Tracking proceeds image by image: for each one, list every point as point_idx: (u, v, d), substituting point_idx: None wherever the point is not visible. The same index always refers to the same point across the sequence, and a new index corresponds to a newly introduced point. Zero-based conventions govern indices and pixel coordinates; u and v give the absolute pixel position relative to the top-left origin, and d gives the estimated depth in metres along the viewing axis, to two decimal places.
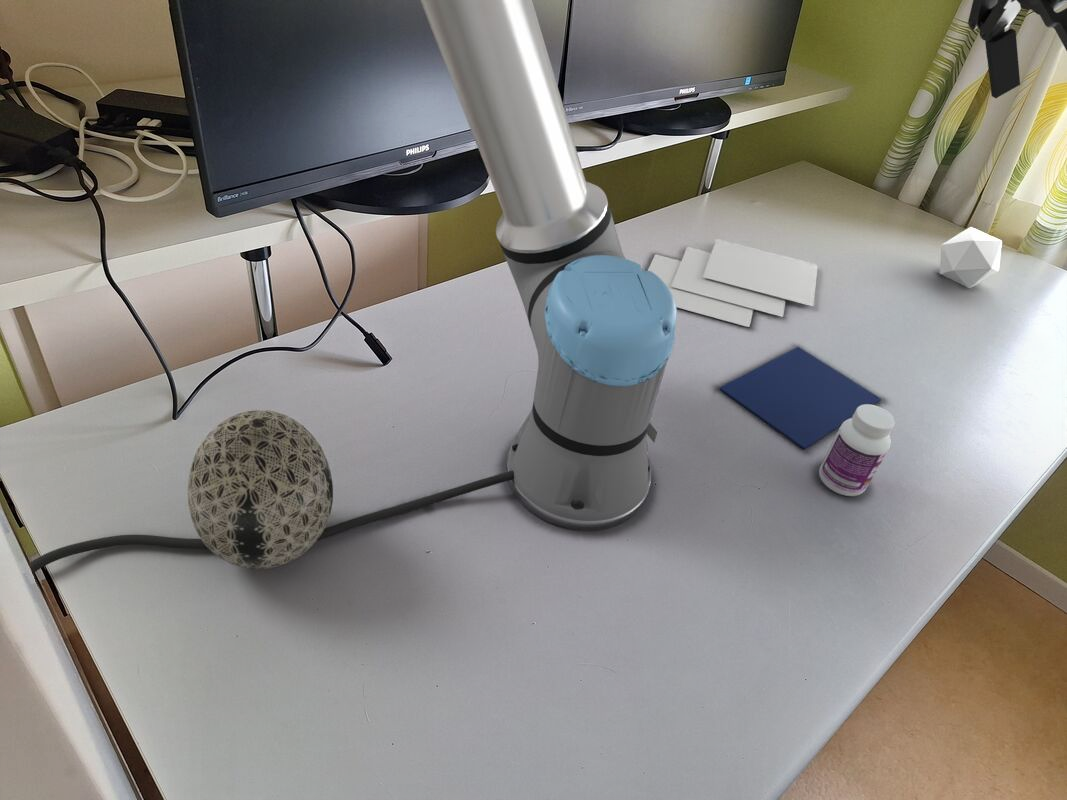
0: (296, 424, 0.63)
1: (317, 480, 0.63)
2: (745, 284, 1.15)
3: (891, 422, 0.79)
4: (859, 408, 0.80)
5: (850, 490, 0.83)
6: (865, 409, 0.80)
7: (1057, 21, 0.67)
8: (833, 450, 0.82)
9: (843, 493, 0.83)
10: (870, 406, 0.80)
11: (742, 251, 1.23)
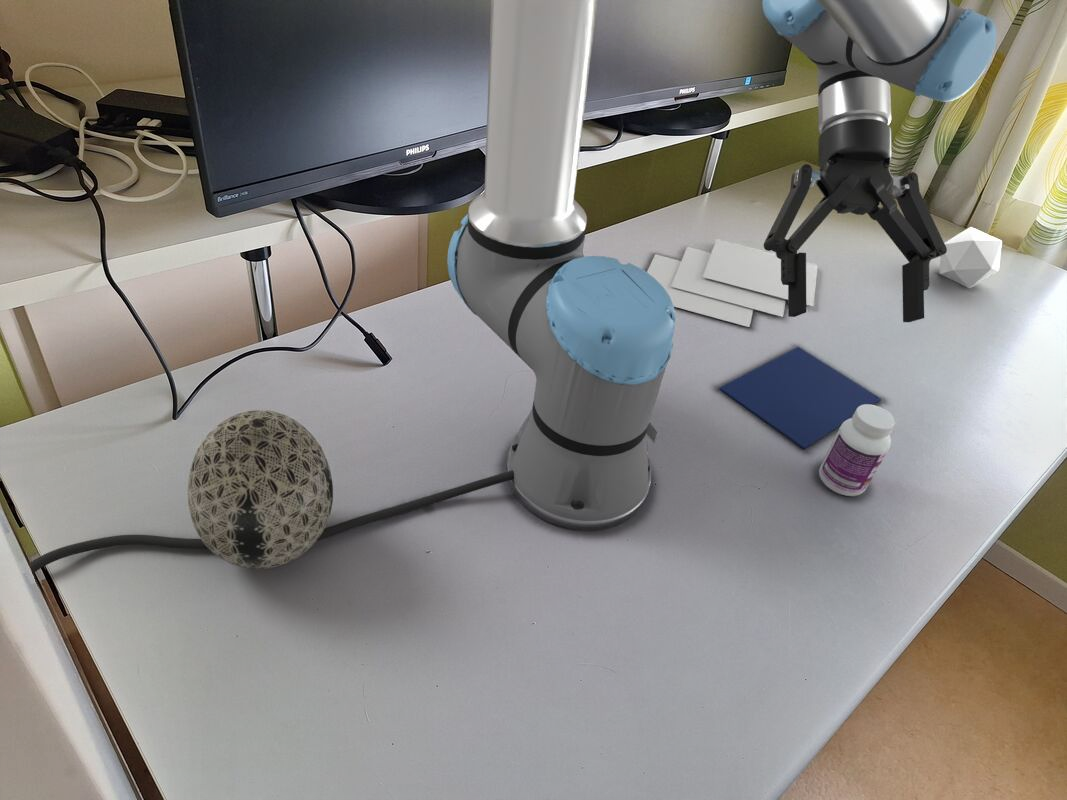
0: (296, 424, 0.63)
1: (317, 480, 0.63)
2: (745, 284, 1.15)
3: (891, 422, 0.79)
4: (859, 408, 0.80)
5: (850, 490, 0.83)
6: (865, 409, 0.80)
7: (895, 205, 0.84)
8: (833, 450, 0.82)
9: (843, 493, 0.83)
10: (870, 406, 0.80)
11: (742, 251, 1.23)
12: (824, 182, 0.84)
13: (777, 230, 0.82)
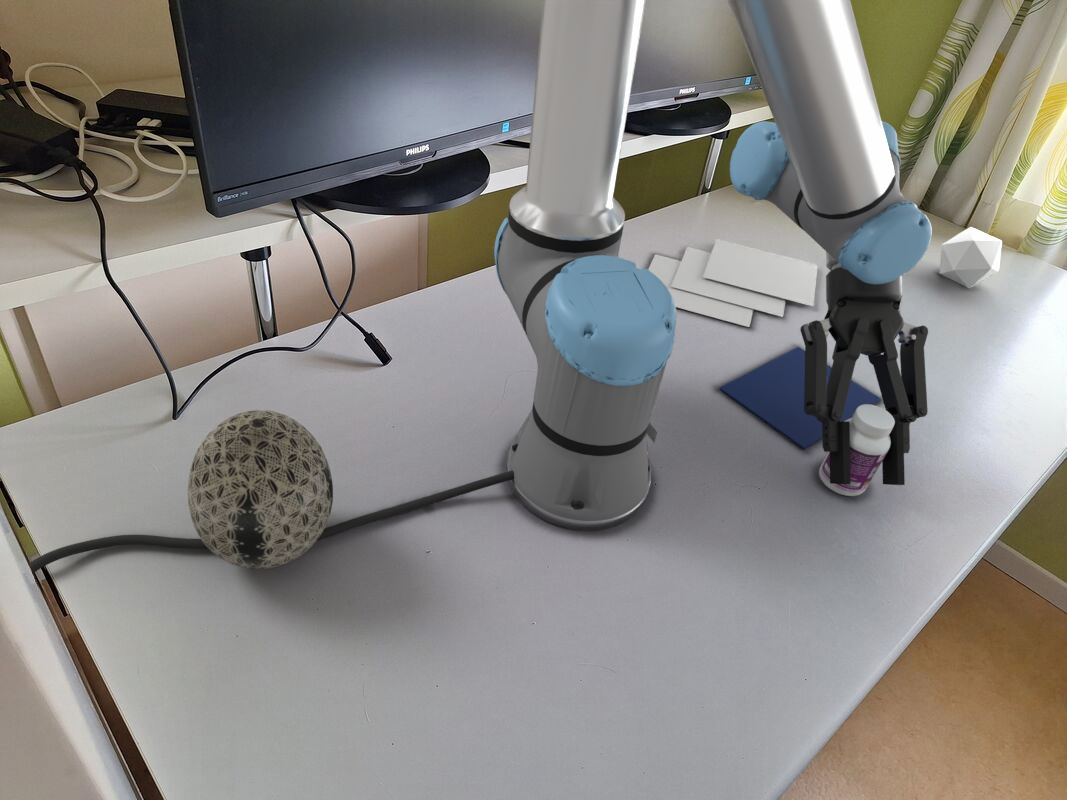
0: (296, 424, 0.63)
1: (317, 480, 0.63)
2: (745, 284, 1.15)
3: (891, 422, 0.79)
4: (859, 408, 0.80)
5: (850, 490, 0.83)
6: (865, 409, 0.80)
7: (896, 357, 0.81)
8: None
9: (843, 493, 0.83)
10: (870, 406, 0.80)
11: (742, 251, 1.23)
12: (833, 325, 0.81)
13: (816, 399, 0.79)
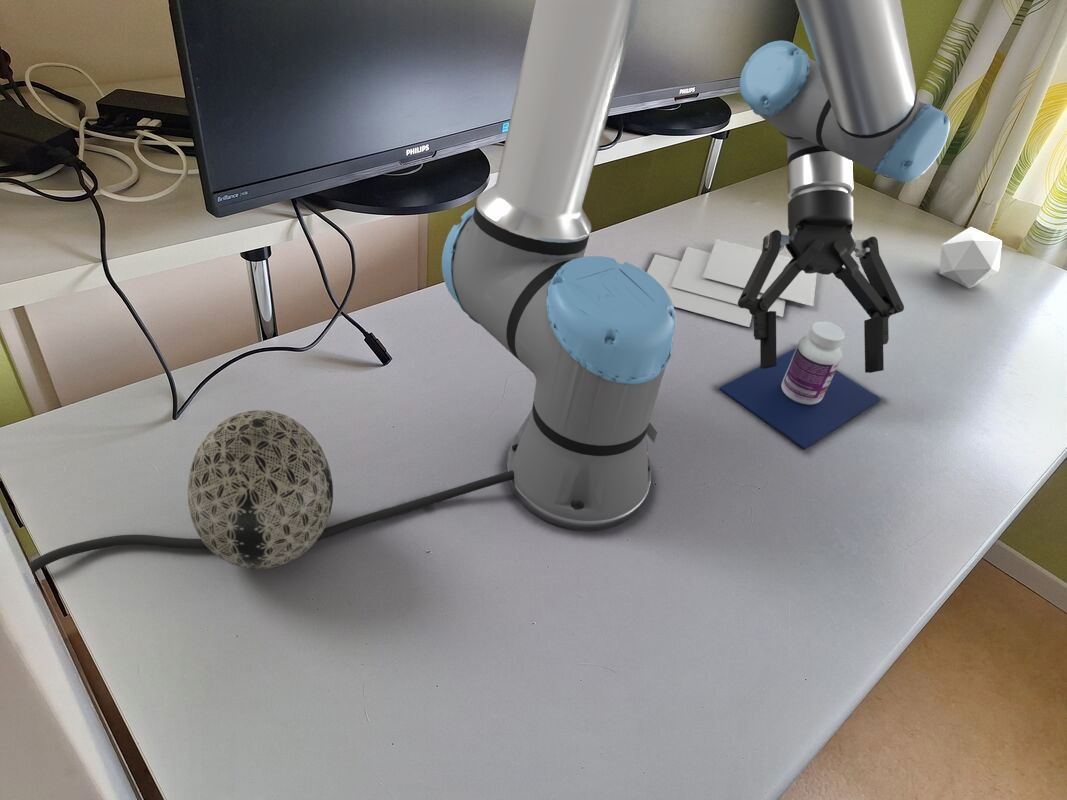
0: (296, 424, 0.63)
1: (317, 480, 0.63)
2: (745, 284, 1.15)
3: (842, 335, 0.90)
4: (814, 324, 0.91)
5: (807, 398, 0.94)
6: (819, 325, 0.91)
7: (857, 267, 0.92)
8: (793, 363, 0.93)
9: (801, 402, 0.94)
10: (824, 323, 0.92)
11: (742, 251, 1.23)
12: (792, 246, 0.92)
13: (750, 290, 0.90)
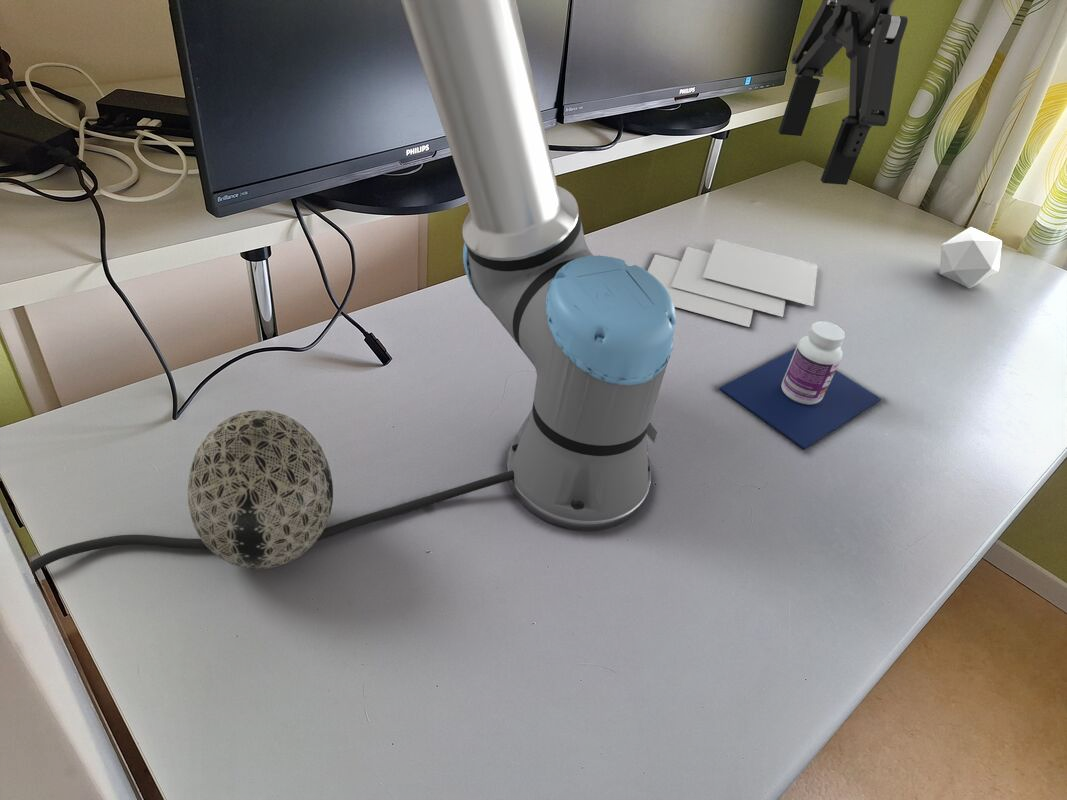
0: (296, 424, 0.63)
1: (317, 480, 0.63)
2: (745, 284, 1.15)
3: (841, 335, 0.90)
4: (814, 324, 0.91)
5: (807, 398, 0.94)
6: (819, 325, 0.91)
7: (855, 52, 0.76)
8: (793, 363, 0.93)
9: (801, 402, 0.94)
10: (824, 323, 0.92)
11: (742, 251, 1.23)
12: None
13: (796, 49, 0.88)
